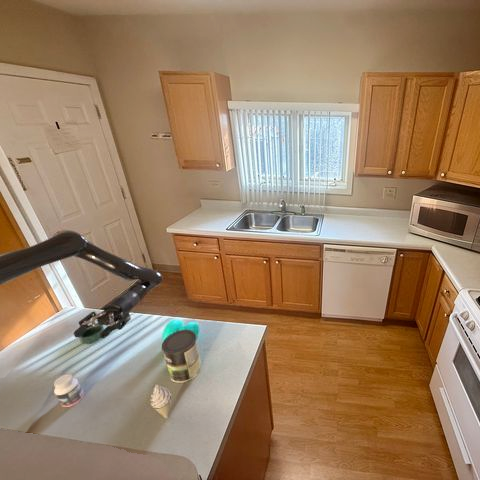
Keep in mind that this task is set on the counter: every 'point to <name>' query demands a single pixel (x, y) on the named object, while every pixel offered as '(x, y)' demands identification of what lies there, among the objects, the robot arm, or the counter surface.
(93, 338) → the tin
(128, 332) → the counter surface
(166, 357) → the coffee can
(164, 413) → the ice cream cone
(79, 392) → the pill bottle
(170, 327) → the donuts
